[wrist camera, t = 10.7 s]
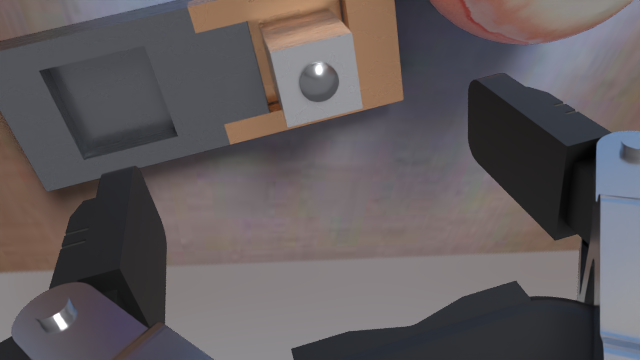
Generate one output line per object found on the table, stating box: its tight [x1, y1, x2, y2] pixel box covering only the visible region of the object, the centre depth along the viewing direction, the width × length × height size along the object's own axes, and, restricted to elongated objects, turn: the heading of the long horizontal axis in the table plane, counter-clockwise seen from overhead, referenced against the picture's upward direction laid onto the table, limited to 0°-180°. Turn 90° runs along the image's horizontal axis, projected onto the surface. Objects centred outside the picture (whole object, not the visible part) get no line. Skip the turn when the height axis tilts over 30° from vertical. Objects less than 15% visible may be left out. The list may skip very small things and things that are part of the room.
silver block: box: [259, 9, 363, 127], centre depth 31 cm, size 4×4×6 cm
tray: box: [0, 0, 404, 192], centre depth 32 cm, size 24×9×2 cm, turn 101°
